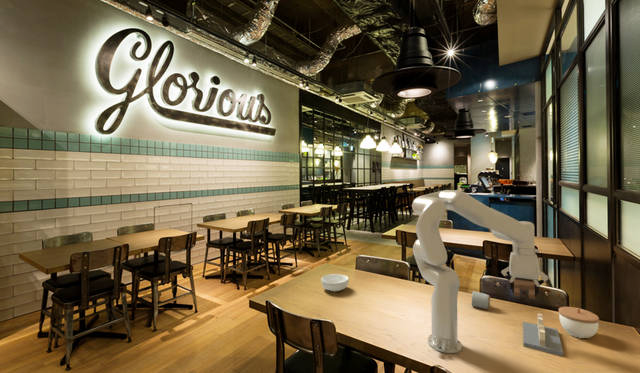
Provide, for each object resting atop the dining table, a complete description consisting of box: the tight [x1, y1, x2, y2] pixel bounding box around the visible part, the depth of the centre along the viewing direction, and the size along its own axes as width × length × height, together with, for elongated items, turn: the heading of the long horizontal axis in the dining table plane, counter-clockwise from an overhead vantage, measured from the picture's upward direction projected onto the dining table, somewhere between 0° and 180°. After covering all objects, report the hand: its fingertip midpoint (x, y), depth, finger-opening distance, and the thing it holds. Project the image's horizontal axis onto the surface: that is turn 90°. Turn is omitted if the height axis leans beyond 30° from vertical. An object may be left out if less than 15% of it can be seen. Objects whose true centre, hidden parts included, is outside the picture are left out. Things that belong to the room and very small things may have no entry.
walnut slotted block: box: [513, 278, 536, 300], centre depth 119 cm, size 4×7×7 cm, turn 56°
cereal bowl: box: [320, 273, 349, 293], centre depth 173 cm, size 17×17×7 cm
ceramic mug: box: [471, 290, 491, 310], centre depth 148 cm, size 11×8×8 cm
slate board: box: [522, 321, 564, 357], centre depth 117 cm, size 20×12×2 cm, turn 145°
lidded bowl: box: [558, 306, 600, 339], centre depth 120 cm, size 13×13×11 cm
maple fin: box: [536, 313, 545, 347], centre depth 116 cm, size 18×2×6 cm, turn 145°
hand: (524, 292), depth 119 cm, fingers closed on walnut slotted block, 7 cm apart
